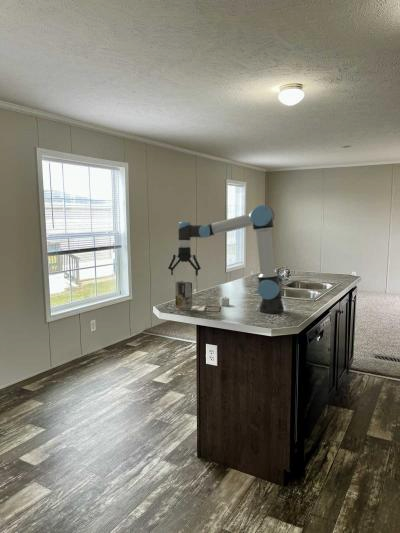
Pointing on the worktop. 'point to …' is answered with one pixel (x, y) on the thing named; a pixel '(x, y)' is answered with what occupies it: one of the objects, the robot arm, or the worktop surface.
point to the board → (197, 308)
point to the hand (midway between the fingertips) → (184, 280)
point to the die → (224, 301)
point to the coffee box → (183, 294)
